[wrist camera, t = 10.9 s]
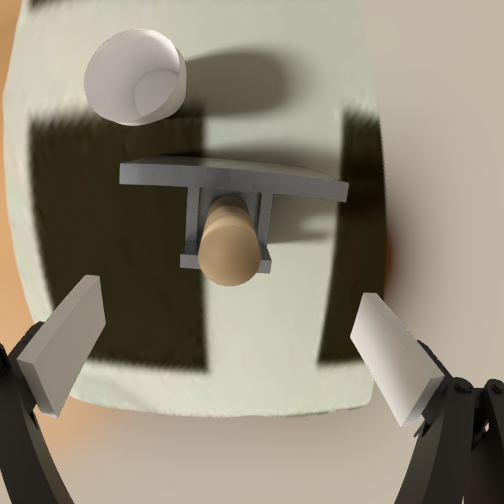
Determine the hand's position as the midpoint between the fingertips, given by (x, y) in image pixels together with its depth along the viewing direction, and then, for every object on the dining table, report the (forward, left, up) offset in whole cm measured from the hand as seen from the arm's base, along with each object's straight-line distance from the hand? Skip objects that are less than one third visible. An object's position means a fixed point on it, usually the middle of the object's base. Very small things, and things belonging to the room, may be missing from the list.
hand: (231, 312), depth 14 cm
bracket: (0, 0, -24) cm, 24 cm away
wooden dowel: (0, 0, -21) cm, 21 cm away
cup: (-13, -10, -25) cm, 30 cm away
